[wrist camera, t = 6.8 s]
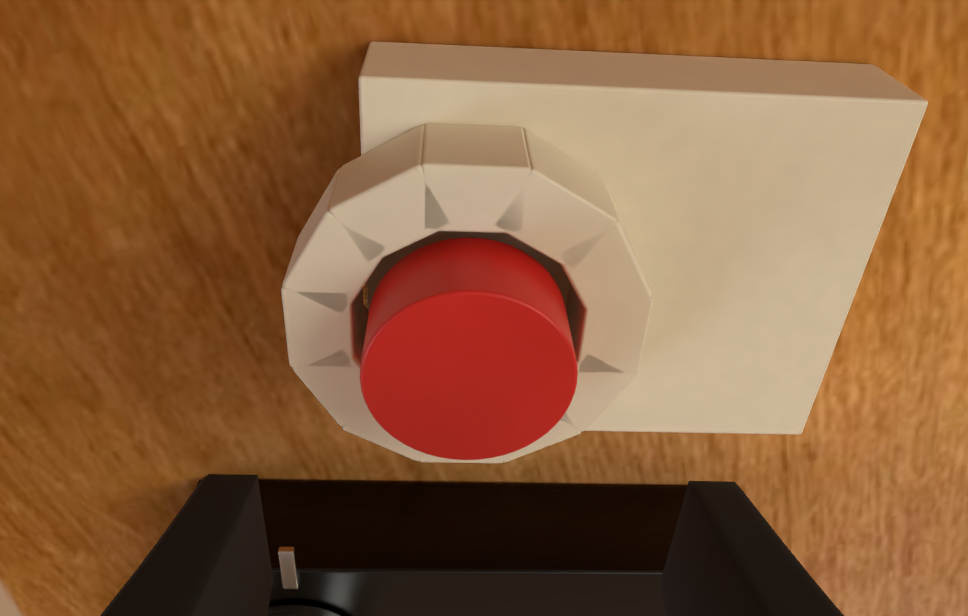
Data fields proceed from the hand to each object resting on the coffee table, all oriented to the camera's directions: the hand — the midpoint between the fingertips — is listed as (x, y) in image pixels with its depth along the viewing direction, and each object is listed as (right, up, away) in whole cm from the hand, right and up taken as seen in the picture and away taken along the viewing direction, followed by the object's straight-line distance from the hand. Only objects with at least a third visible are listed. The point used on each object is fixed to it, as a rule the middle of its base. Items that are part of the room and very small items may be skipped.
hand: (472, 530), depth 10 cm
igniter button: (0, +3, +4) cm, 5 cm away
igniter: (+3, +5, +7) cm, 9 cm away
